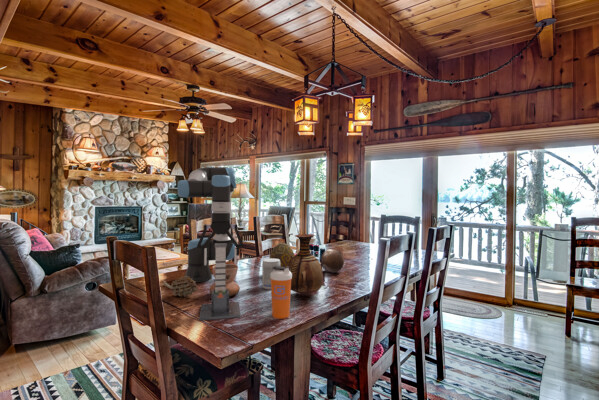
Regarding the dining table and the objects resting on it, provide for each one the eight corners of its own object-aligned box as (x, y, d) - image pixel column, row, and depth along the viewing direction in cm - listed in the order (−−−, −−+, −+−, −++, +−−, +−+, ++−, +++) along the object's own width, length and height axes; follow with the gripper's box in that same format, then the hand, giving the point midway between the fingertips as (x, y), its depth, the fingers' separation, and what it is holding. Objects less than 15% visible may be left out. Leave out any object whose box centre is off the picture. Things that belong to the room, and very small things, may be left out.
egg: (263, 275, 200) (263, 242, 199) (284, 271, 210) (284, 240, 210) (280, 280, 187) (280, 245, 187) (301, 276, 198) (301, 243, 198)
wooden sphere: (316, 272, 207) (316, 249, 206) (327, 268, 219) (328, 246, 219) (337, 276, 198) (337, 251, 198) (348, 271, 210) (348, 248, 210)
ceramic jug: (231, 301, 150) (231, 271, 150) (202, 298, 154) (203, 268, 154) (245, 291, 168) (246, 263, 168) (219, 288, 171) (220, 261, 171)
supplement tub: (283, 288, 172) (283, 260, 172) (267, 291, 167) (267, 262, 167) (274, 284, 181) (274, 257, 180) (259, 286, 175) (259, 259, 175)
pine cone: (202, 295, 159) (202, 275, 159) (188, 301, 150) (188, 280, 150) (167, 290, 167) (167, 270, 167) (152, 295, 158) (152, 275, 158)
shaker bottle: (269, 311, 138) (270, 264, 138) (291, 311, 139) (291, 264, 139) (269, 320, 129) (270, 269, 129) (292, 319, 130) (292, 269, 130)
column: (214, 290, 139) (214, 243, 139) (226, 289, 141) (226, 243, 140) (214, 293, 135) (214, 245, 134) (226, 292, 136) (226, 244, 135)
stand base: (201, 306, 144) (201, 285, 144) (238, 304, 147) (238, 283, 147) (199, 320, 128) (199, 297, 128) (240, 317, 132) (240, 294, 132)
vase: (315, 305, 147) (316, 238, 146) (278, 300, 153) (279, 236, 153) (328, 291, 167) (328, 233, 166) (294, 287, 173) (295, 231, 173)
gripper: (190, 212, 130) (189, 267, 131) (250, 212, 136) (249, 264, 137) (191, 211, 138) (191, 263, 138) (248, 211, 143) (248, 261, 144)
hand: (220, 264), depth 137 cm, fingers open, 11 cm apart
